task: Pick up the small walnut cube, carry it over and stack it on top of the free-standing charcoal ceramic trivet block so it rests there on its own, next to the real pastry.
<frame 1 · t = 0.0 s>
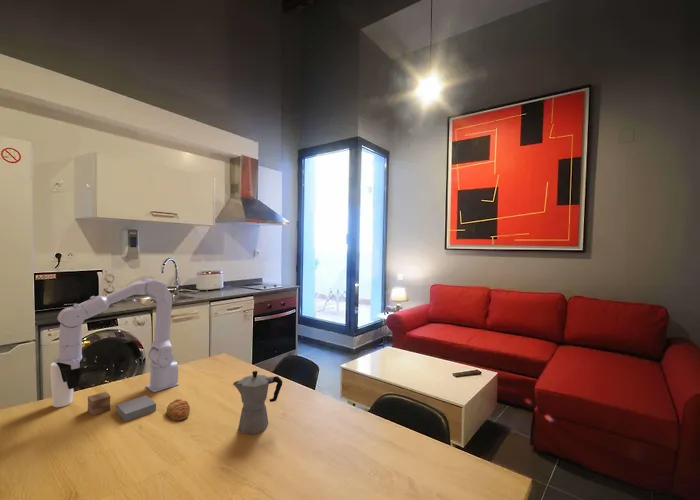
hand: (70, 384, 106), 10 cm above the table, fingers open, 7 cm apart
trivet block: (136, 412, 109), on the table
walnut cube: (98, 410, 109), on the table
drinking glass: (62, 404, 112), on the table
pastry: (179, 414, 109), on the table
coffeepot: (257, 426, 103), on the table
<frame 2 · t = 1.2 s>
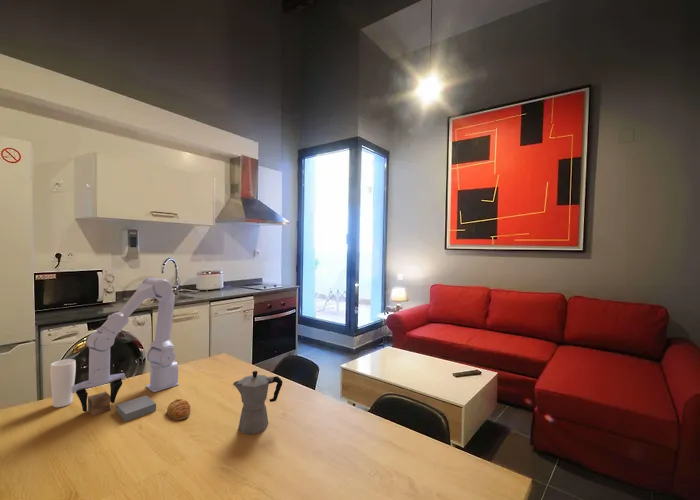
hand: (98, 406, 109), 1 cm above the table, fingers open, 7 cm apart
nothing on the table moved.
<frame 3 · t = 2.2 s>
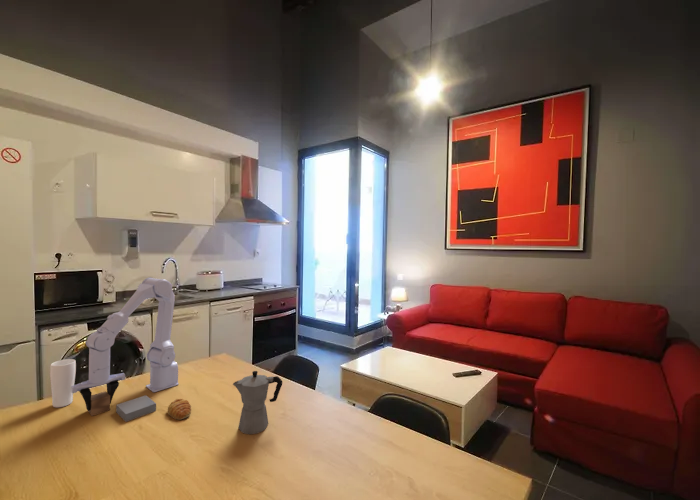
hand: (98, 406, 109), 1 cm above the table, fingers closed on walnut cube, 5 cm apart
walnut cube: (98, 410, 109), on the table, touching gripper
everything else where it was.
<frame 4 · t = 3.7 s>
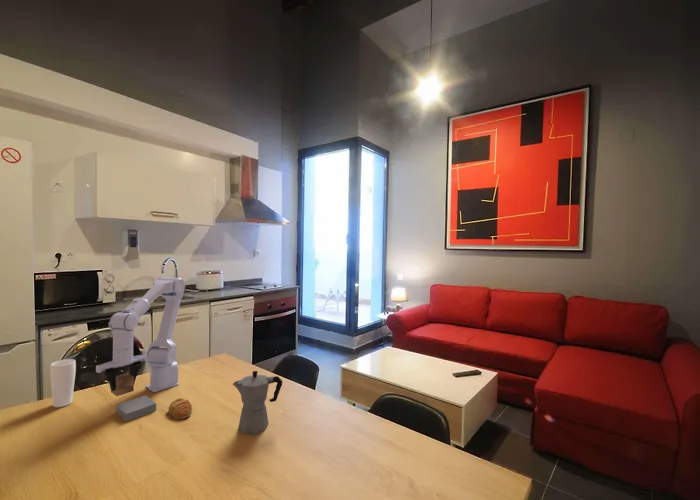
hand: (122, 386, 109), 8 cm above the table, fingers closed on walnut cube, 5 cm apart
walnut cube: (122, 391, 109), point 7 cm above the table, touching gripper
everything else where it was.
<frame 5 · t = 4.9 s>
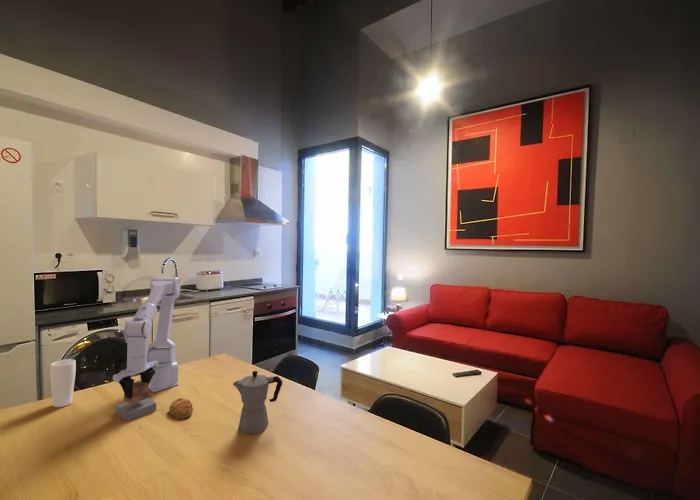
hand: (136, 394, 109), 6 cm above the table, fingers closed on walnut cube, 5 cm apart
walnut cube: (136, 399, 109), point 4 cm above the table, touching gripper
when the fingers open (6 cm above the table, at t = 5.4 s): walnut cube drops 2 cm, resting on trivet block.
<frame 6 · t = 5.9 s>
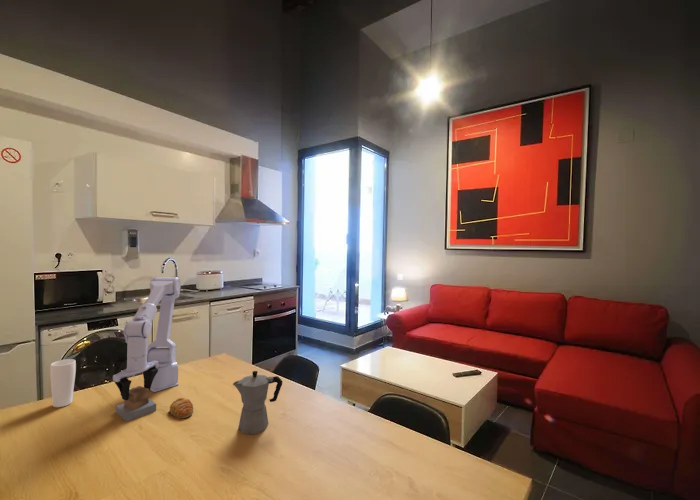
hand: (136, 394, 109), 6 cm above the table, fingers open, 7 cm apart
trivet block: (136, 413, 109), on the table, touching walnut cube
walnut cube: (136, 404, 109), point 2 cm above the table, touching trivet block
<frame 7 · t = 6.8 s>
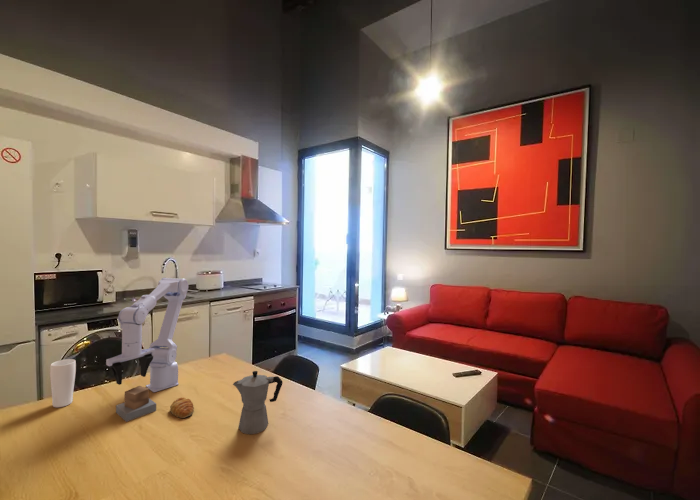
hand: (131, 379, 112), 10 cm above the table, fingers open, 7 cm apart
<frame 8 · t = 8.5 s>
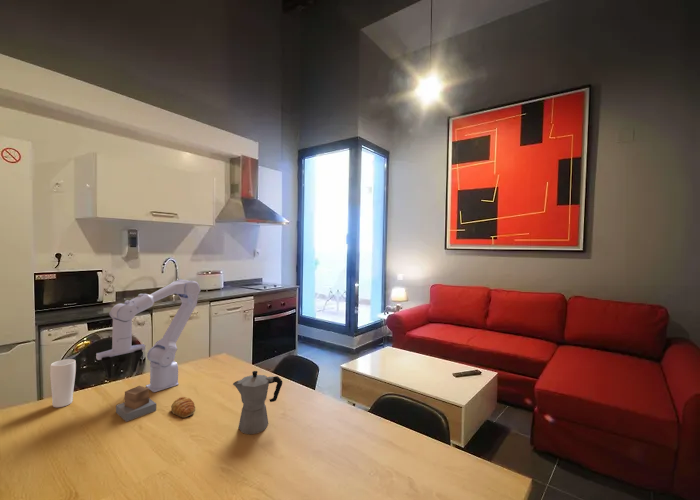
hand: (121, 374, 116), 10 cm above the table, fingers open, 7 cm apart
trivet block: (136, 412, 109), on the table
walnut cube: (136, 404, 109), point 2 cm above the table
at the end: walnut cube 0.2 cm off-centre on the trivet block, point 3.0 cm above the trivet block's base; walnut cube tilted 0°; walnut cube touching nothing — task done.
